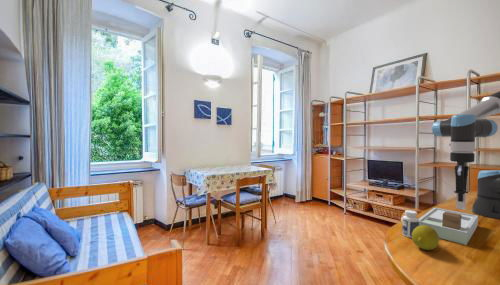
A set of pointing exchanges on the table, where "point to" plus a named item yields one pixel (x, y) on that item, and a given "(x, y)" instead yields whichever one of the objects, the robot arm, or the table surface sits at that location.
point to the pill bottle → (409, 223)
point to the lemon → (425, 237)
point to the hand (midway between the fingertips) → (460, 208)
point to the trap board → (459, 236)
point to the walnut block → (451, 220)
